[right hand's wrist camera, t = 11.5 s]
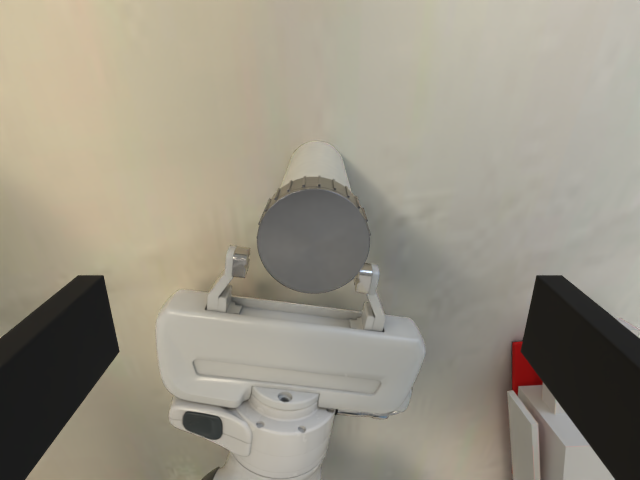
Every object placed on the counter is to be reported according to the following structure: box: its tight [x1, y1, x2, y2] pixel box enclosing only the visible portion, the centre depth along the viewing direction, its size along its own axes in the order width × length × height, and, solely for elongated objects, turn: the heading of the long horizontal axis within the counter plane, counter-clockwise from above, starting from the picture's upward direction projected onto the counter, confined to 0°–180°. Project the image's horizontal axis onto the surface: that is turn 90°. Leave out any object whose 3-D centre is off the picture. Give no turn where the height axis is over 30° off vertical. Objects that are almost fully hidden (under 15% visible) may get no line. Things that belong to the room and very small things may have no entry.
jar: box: [280, 141, 352, 192], centre depth 26 cm, size 4×4×16 cm
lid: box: [257, 176, 370, 293], centre depth 20 cm, size 5×5×2 cm
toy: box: [507, 319, 640, 480], centre depth 39 cm, size 12×13×30 cm
